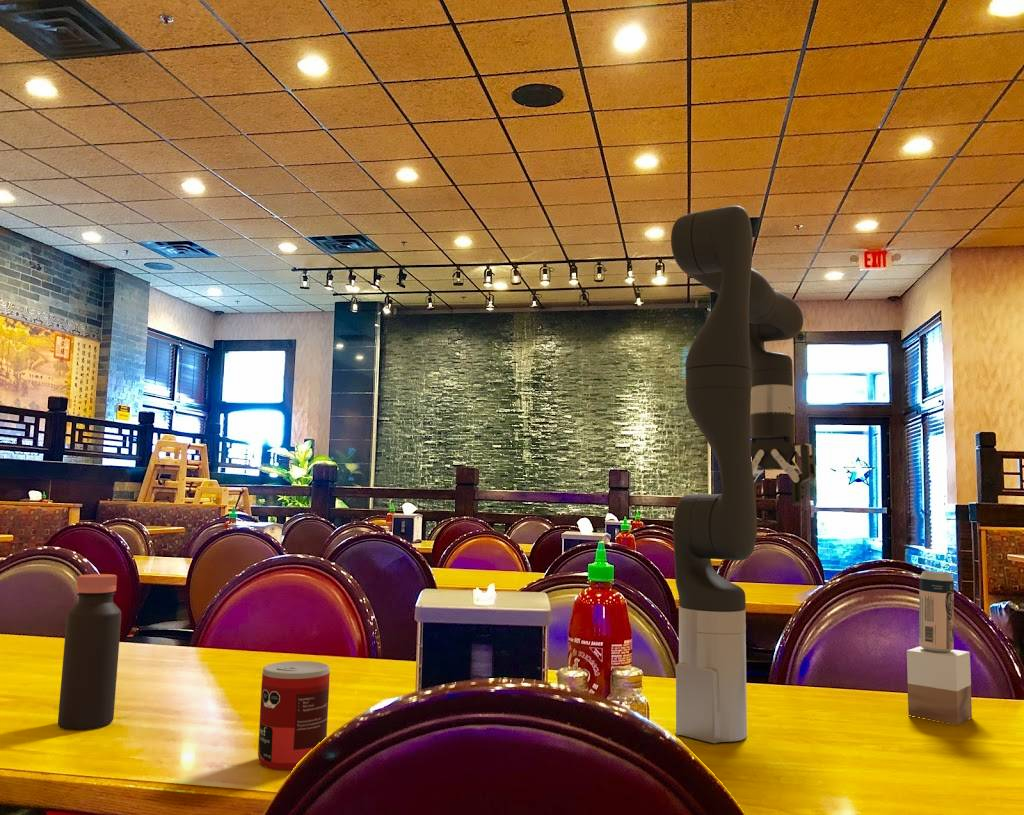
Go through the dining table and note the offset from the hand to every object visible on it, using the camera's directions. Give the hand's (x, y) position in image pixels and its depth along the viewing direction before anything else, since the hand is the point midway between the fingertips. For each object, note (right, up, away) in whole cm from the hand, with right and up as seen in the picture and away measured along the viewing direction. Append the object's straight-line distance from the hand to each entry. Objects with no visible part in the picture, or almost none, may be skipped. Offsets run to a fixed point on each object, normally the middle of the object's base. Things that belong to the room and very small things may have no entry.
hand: (773, 504), depth 143 cm
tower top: (+21, -26, -16) cm, 37 cm away
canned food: (-72, -26, -45) cm, 89 cm away
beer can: (+21, -21, -15) cm, 33 cm away
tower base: (+21, -31, -16) cm, 41 cm away
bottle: (-104, -27, -31) cm, 112 cm away
